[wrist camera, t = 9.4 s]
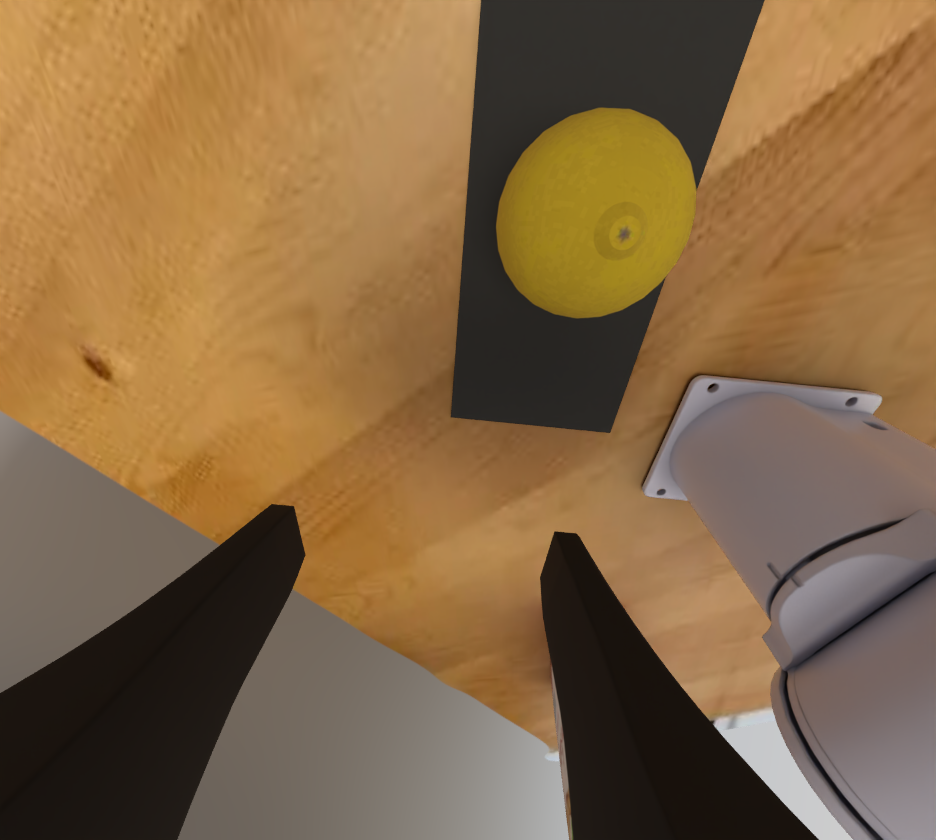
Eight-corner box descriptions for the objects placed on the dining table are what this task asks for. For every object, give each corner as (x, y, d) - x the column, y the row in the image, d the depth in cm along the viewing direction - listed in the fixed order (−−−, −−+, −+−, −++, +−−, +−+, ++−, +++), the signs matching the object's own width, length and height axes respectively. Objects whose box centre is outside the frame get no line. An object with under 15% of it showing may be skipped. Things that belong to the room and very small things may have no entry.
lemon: (500, 132, 13) (514, 54, 6) (648, 139, 13) (823, 69, 6) (489, 287, 16) (491, 346, 9) (610, 293, 16) (703, 359, 9)
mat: (828, -183, 10) (831, -187, 9) (609, 432, 20) (610, 432, 20) (497, -220, 10) (497, -224, 9) (451, 416, 20) (451, 417, 20)
